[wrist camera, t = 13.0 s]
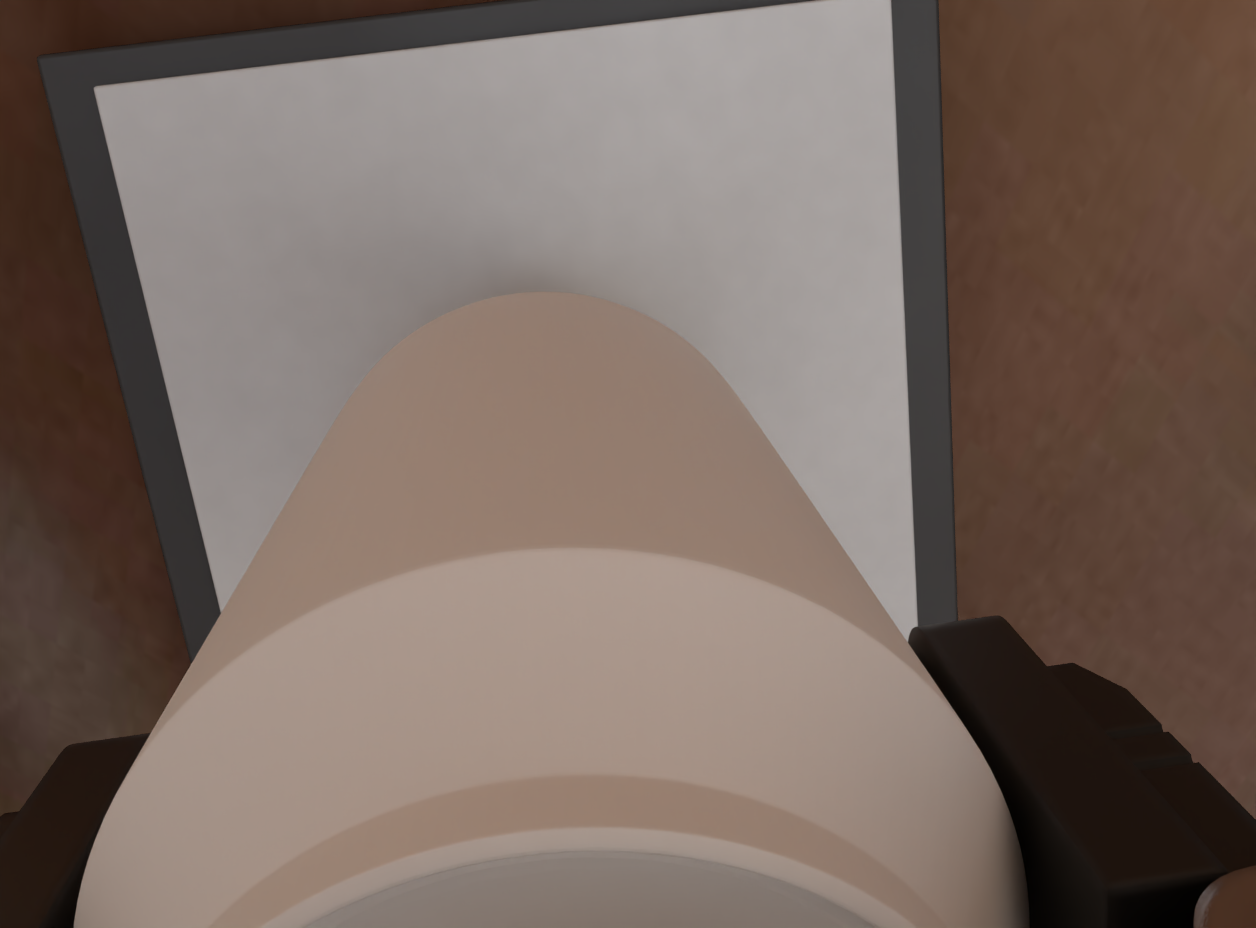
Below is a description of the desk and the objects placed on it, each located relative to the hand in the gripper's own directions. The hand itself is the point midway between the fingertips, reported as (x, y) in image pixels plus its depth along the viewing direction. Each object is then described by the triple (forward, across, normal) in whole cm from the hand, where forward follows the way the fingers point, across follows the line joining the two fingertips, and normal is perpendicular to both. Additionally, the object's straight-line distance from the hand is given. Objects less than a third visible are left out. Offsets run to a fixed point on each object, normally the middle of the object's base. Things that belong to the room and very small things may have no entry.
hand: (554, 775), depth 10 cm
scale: (+15, 0, +1) cm, 15 cm away
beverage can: (+8, 0, 0) cm, 8 cm away
